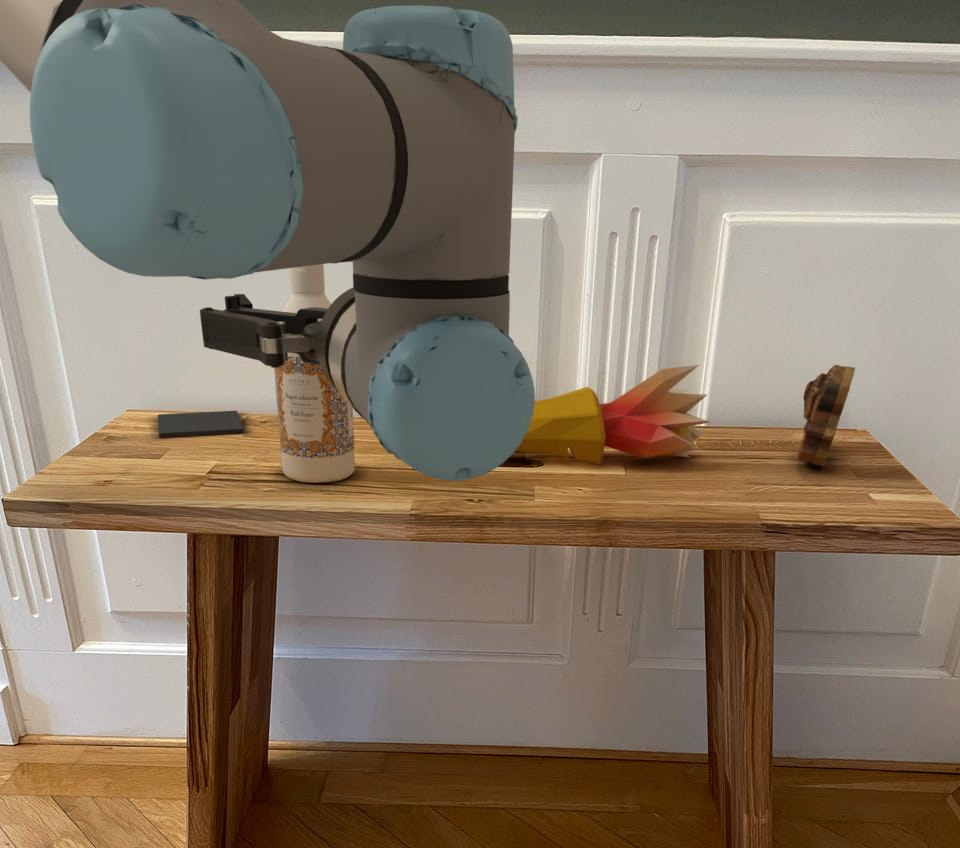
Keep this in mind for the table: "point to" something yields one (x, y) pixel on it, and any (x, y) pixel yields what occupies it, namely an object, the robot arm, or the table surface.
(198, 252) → the robot arm
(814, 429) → the wooden carving
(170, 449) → the table surface
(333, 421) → the bath foam
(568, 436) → the torch
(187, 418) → the mat
